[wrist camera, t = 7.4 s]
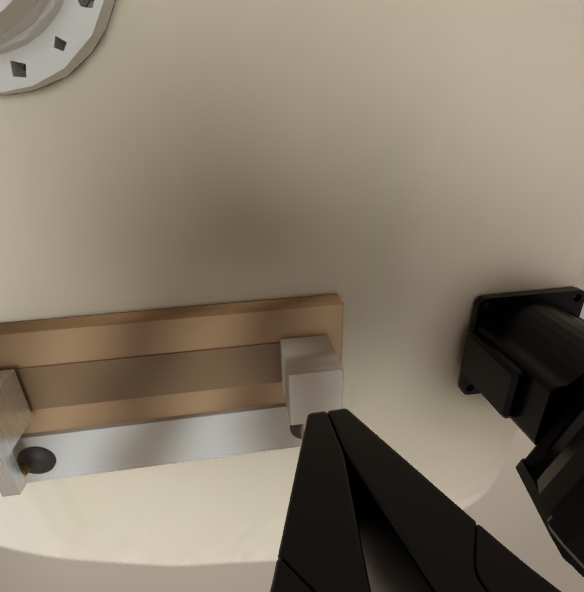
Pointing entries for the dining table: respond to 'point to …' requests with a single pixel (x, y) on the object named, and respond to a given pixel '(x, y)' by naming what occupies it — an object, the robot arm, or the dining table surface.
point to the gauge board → (172, 383)
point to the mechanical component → (46, 39)
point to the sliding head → (12, 433)
